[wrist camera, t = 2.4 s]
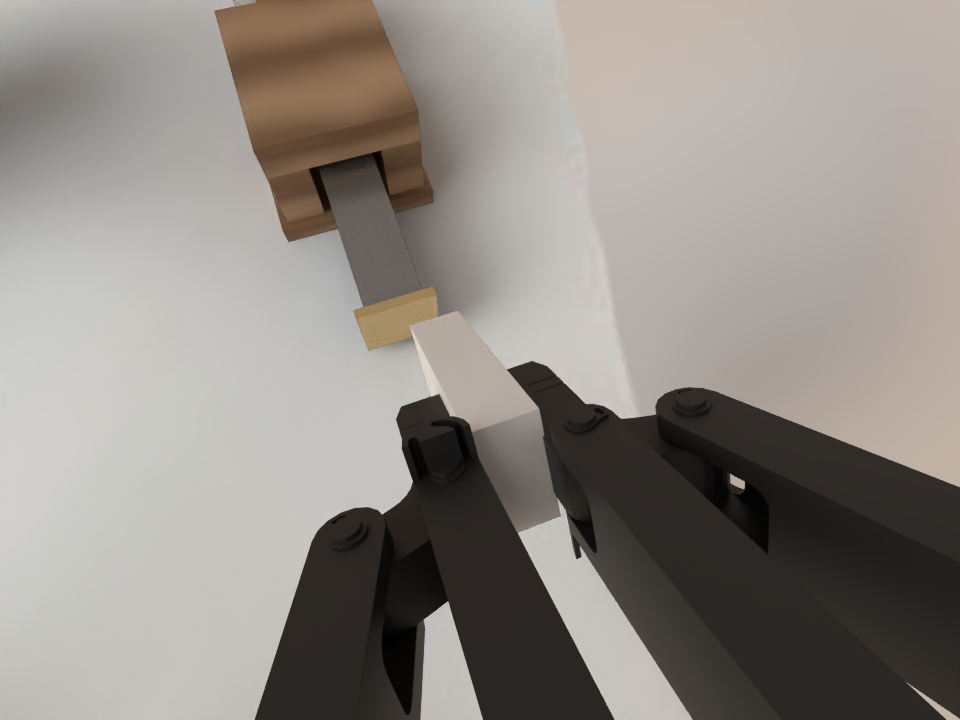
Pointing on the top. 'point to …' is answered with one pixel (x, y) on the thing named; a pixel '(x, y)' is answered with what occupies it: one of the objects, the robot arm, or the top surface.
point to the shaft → (376, 253)
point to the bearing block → (322, 102)
